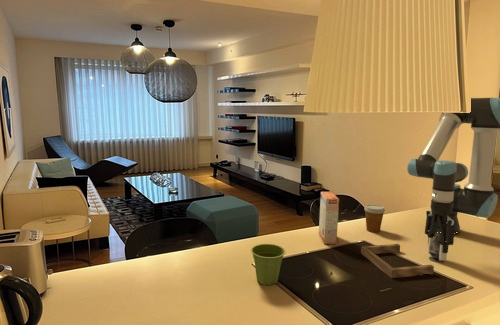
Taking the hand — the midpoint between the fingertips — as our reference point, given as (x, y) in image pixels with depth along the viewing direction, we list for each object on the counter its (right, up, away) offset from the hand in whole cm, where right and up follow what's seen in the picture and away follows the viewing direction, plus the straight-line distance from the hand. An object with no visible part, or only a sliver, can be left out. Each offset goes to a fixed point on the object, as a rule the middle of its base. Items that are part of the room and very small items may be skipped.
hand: (436, 256), depth 144 cm
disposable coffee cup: (-14, +4, +34) cm, 37 cm away
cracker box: (-39, +2, +22) cm, 45 cm away
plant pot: (-69, -4, -18) cm, 71 cm away
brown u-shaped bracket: (-18, -2, -3) cm, 18 cm away
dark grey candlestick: (0, -2, 0) cm, 2 cm away
